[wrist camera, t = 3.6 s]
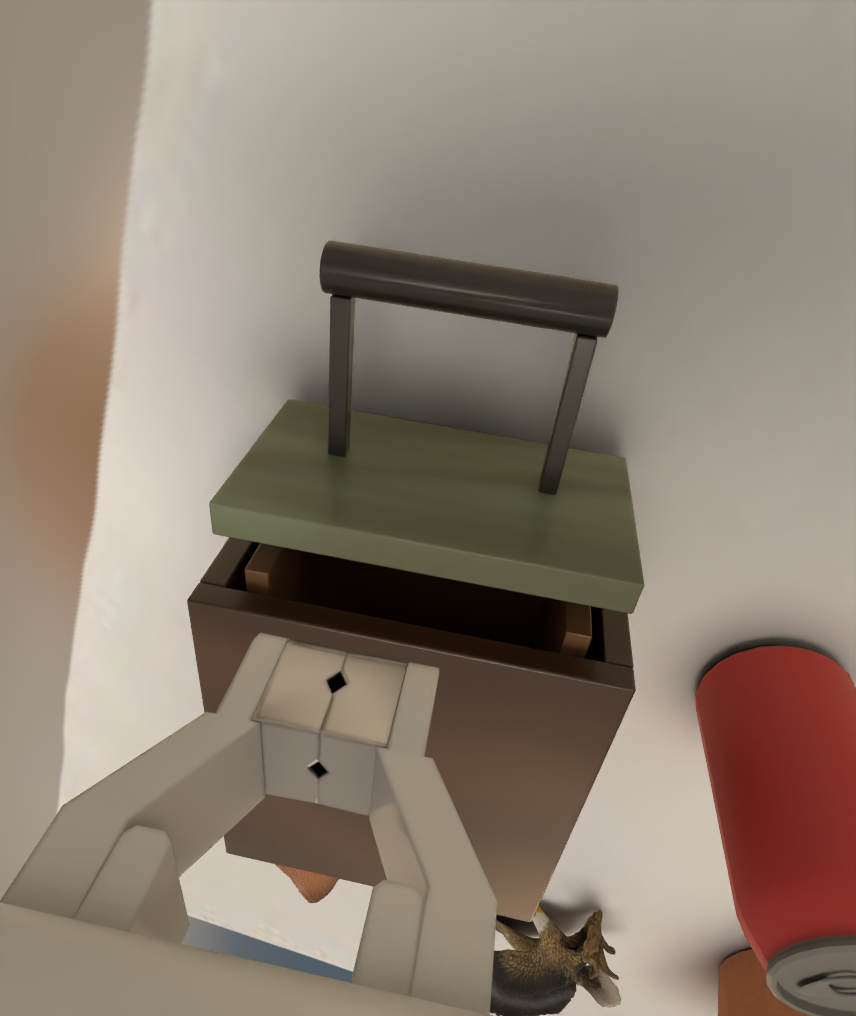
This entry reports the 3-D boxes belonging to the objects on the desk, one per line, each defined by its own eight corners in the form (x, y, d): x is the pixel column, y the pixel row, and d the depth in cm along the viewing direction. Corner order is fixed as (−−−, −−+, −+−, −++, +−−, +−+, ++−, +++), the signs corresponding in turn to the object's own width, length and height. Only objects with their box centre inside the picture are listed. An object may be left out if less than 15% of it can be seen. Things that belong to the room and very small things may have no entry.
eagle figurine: (559, 885, 41) (443, 932, 44) (612, 1022, 38) (481, 1064, 40) (597, 871, 47) (493, 913, 50) (646, 988, 44) (530, 1027, 46)
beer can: (665, 670, 31) (711, 958, 21) (809, 615, 28) (941, 926, 18) (735, 748, 33) (805, 1040, 23) (875, 706, 30) (1023, 1024, 20)
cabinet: (283, 455, 27) (185, 600, 20) (617, 515, 26) (636, 690, 19) (290, 696, 37) (225, 853, 30) (537, 748, 36) (531, 923, 29)
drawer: (283, 206, 21) (180, 267, 15) (688, 267, 20) (737, 357, 14) (294, 658, 33) (240, 782, 28) (542, 709, 32) (538, 848, 27)
